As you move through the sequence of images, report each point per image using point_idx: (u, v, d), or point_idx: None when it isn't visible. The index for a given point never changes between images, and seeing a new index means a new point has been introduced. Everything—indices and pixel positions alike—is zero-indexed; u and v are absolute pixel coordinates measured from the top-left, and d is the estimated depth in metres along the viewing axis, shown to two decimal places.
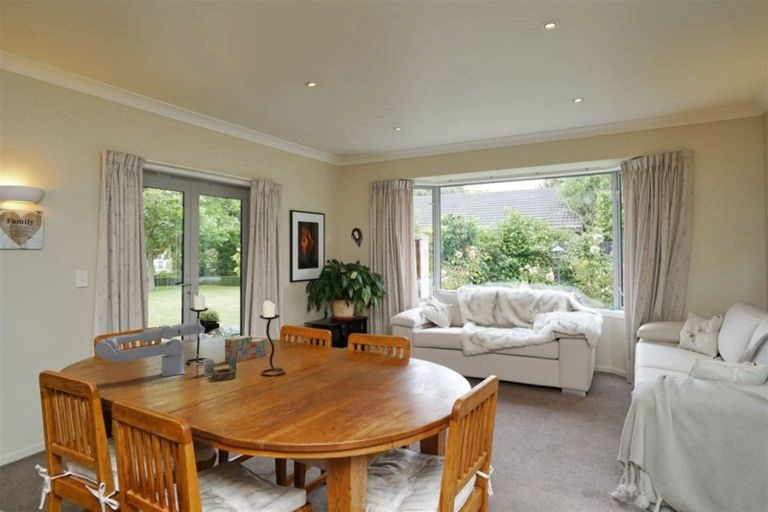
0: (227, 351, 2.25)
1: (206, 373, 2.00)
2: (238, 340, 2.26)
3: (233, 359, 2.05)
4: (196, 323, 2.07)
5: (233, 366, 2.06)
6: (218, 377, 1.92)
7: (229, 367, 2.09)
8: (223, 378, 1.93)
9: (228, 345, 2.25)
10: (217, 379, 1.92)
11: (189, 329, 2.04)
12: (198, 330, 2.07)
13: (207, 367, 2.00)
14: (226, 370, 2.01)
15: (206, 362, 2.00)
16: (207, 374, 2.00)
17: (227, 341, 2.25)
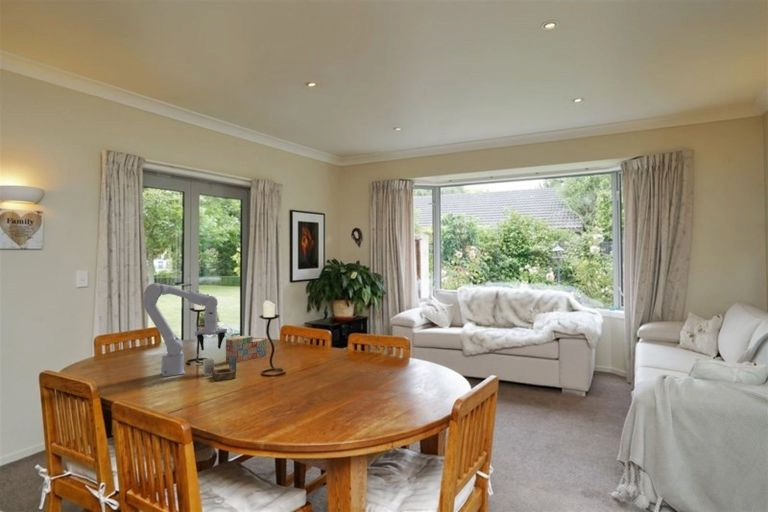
0: (228, 351, 2.25)
1: (206, 373, 2.00)
2: (239, 340, 2.26)
3: (233, 359, 2.05)
4: (208, 329, 2.06)
5: (233, 366, 2.06)
6: (218, 377, 1.92)
7: (229, 367, 2.09)
8: (223, 378, 1.93)
9: (229, 345, 2.25)
10: (217, 379, 1.92)
11: None
12: None
13: (207, 367, 2.00)
14: (226, 370, 2.01)
15: (206, 362, 2.00)
16: (207, 374, 2.00)
17: (228, 341, 2.25)
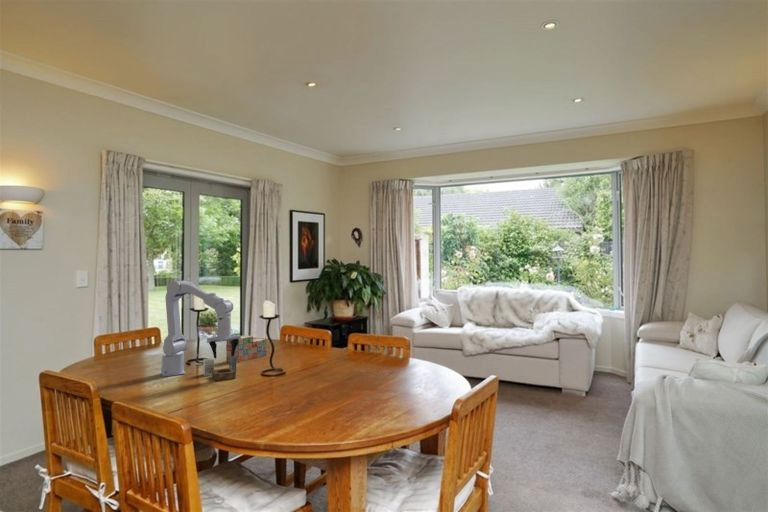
0: (228, 351, 2.26)
1: (206, 373, 2.00)
2: (239, 340, 2.26)
3: (233, 359, 2.05)
4: (221, 336, 1.95)
5: (233, 366, 2.06)
6: (218, 377, 1.92)
7: (229, 367, 2.09)
8: (223, 378, 1.93)
9: (230, 345, 2.25)
10: (217, 379, 1.92)
11: (217, 328, 1.96)
12: (217, 336, 1.97)
13: (207, 367, 2.00)
14: (226, 370, 2.01)
15: (206, 362, 2.00)
16: (207, 374, 2.00)
17: (228, 341, 2.26)
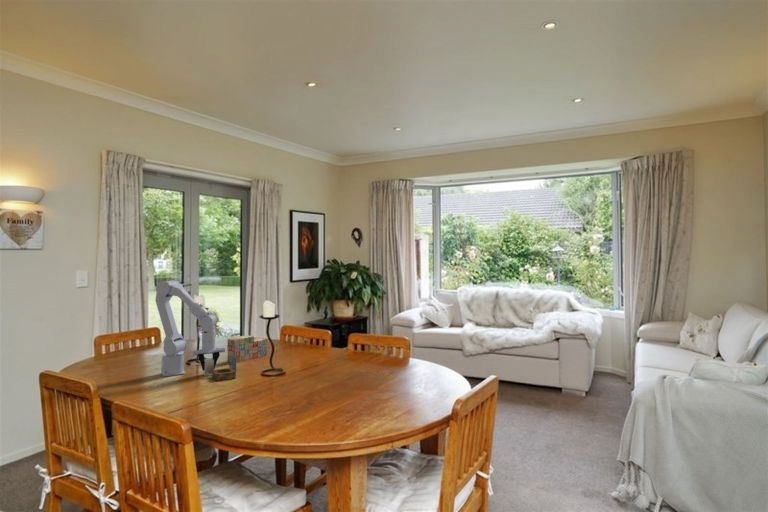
0: (230, 351, 2.26)
1: (206, 373, 2.00)
2: (241, 340, 2.27)
3: (233, 359, 2.05)
4: (205, 349, 1.99)
5: (233, 366, 2.06)
6: (218, 377, 1.92)
7: (229, 367, 2.09)
8: (223, 378, 1.93)
9: (231, 345, 2.25)
10: (217, 379, 1.92)
11: (202, 341, 2.01)
12: (202, 349, 2.02)
13: (207, 367, 2.00)
14: (226, 370, 2.01)
15: (206, 362, 2.00)
16: (207, 374, 2.00)
17: (230, 341, 2.26)
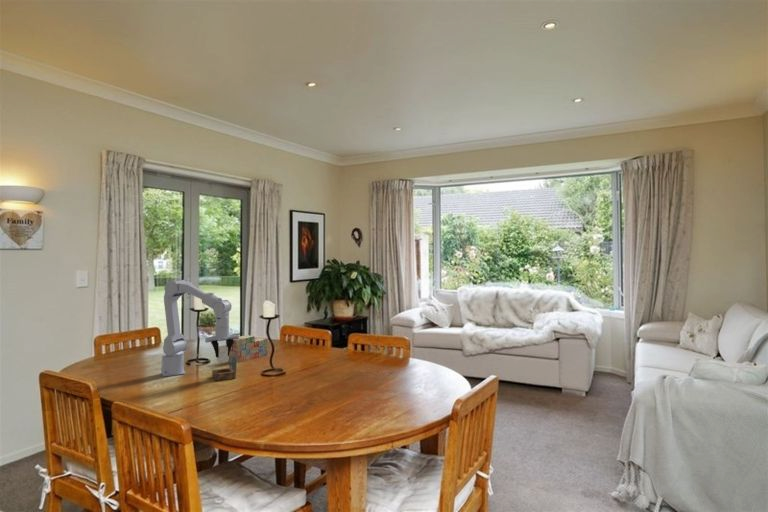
0: (231, 351, 2.26)
1: (220, 360, 1.96)
2: (242, 340, 2.27)
3: (233, 359, 2.05)
4: (219, 336, 1.95)
5: (233, 366, 2.06)
6: (218, 377, 1.92)
7: (229, 367, 2.09)
8: (223, 378, 1.93)
9: (232, 345, 2.25)
10: (217, 379, 1.92)
11: (216, 328, 1.96)
12: (215, 336, 1.97)
13: (221, 354, 1.96)
14: (226, 370, 2.01)
15: (220, 349, 1.96)
16: (221, 361, 1.96)
17: None
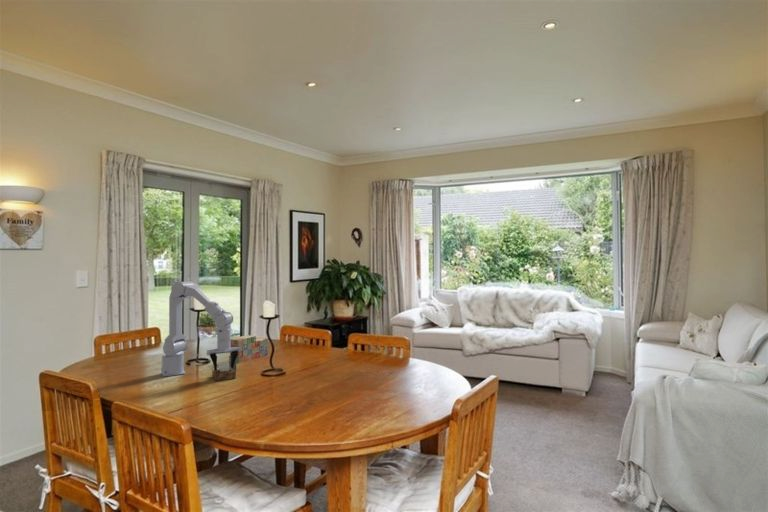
0: None
1: None
2: (244, 340, 2.27)
3: None
4: (221, 348, 1.95)
5: None
6: (218, 377, 1.92)
7: (229, 367, 2.09)
8: (223, 378, 1.93)
9: (234, 345, 2.25)
10: (217, 379, 1.92)
11: (217, 340, 1.96)
12: (217, 348, 1.97)
13: (222, 370, 1.95)
14: None
15: (221, 365, 1.95)
16: None
17: (233, 341, 2.25)
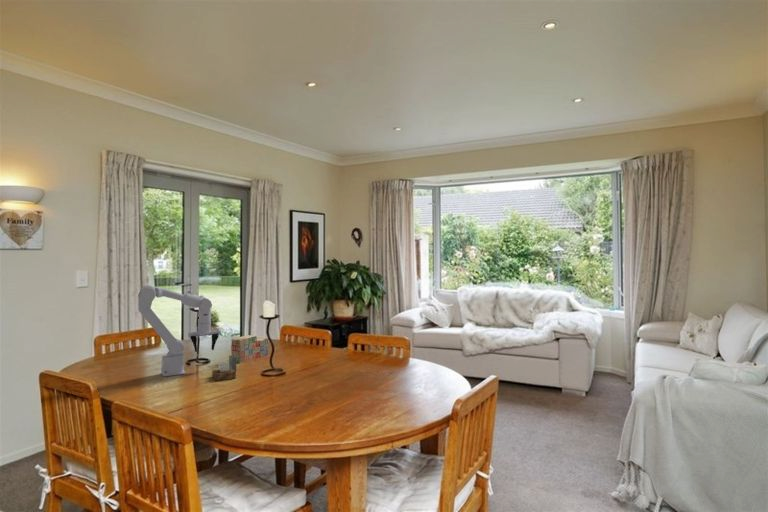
0: (234, 351, 2.25)
1: None
2: (245, 340, 2.27)
3: (233, 359, 2.05)
4: (201, 331, 2.08)
5: (233, 366, 2.06)
6: (218, 377, 1.92)
7: (229, 367, 2.09)
8: (223, 378, 1.93)
9: (236, 345, 2.25)
10: (217, 379, 1.92)
11: (198, 323, 2.09)
12: None
13: (222, 370, 1.95)
14: None
15: (221, 365, 1.95)
16: None
17: (234, 341, 2.25)
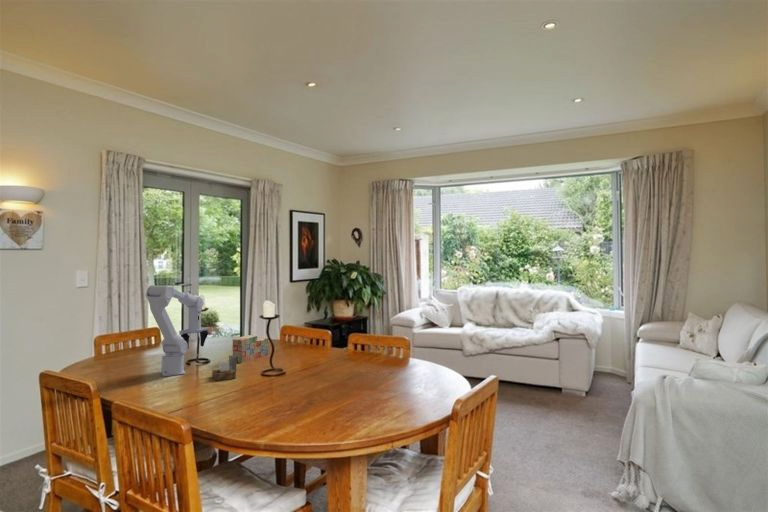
0: (235, 351, 2.25)
1: None
2: (247, 340, 2.27)
3: (233, 359, 2.05)
4: (193, 328, 2.15)
5: (233, 366, 2.06)
6: (218, 377, 1.92)
7: (229, 367, 2.09)
8: (223, 378, 1.93)
9: (237, 345, 2.25)
10: (217, 379, 1.92)
11: (189, 321, 2.15)
12: (188, 329, 2.16)
13: (222, 370, 1.95)
14: None
15: (221, 365, 1.95)
16: None
17: (235, 341, 2.25)
